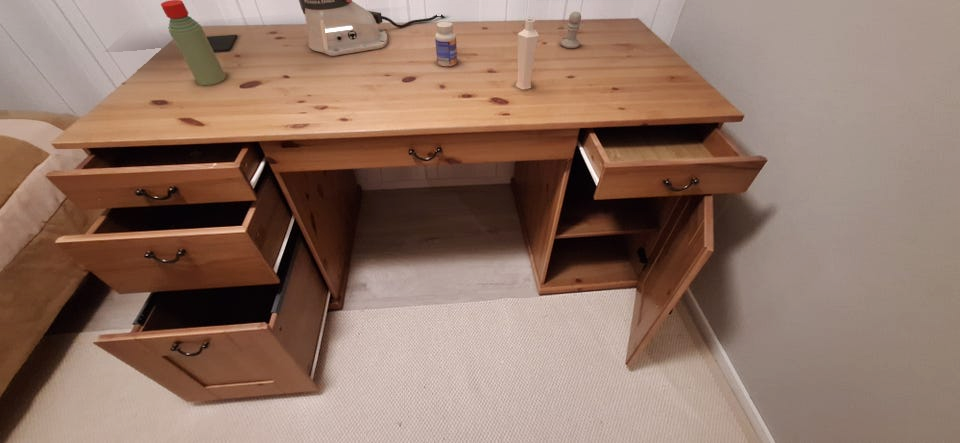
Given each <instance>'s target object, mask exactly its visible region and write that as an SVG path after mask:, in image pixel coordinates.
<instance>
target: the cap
mask: <svg viewBox="0 0 960 443" xmlns="http://www.w3.org/2000/svg"><path fill="white" fill-rule="evenodd" d="M160 6H161V8H162V10H163V12H164V14H165V16H166V17H167V18H168V19H170V18H181V17H184V16H187V15H188V16H189V11H188V9H187V7H186V5H185V3H184V2H183V0H165V1H163V2H161V3H160Z"/></svg>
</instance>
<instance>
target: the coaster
mask: <svg viewBox="0 0 960 443" xmlns="http://www.w3.org/2000/svg"><path fill="white" fill-rule="evenodd" d="M206 37H207V39H208V41H209V43H210V45H211V47H212V49H213V51H214V53H223V52H230V51H231V49H232V48H233V46H234V44H235V42H236V40H237V39H238V34H237V33H236V34H226V35H225V34H223V35H210V36H206Z"/></svg>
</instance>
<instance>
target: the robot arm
mask: <svg viewBox="0 0 960 443" xmlns="http://www.w3.org/2000/svg"><path fill="white" fill-rule="evenodd" d="M298 3H299V7H300V9H301V11H302V14H303V15H304V19H305V23H306V28H307V29H306V32H307V38H308V39H307V40H308V41H307V42H308V45H307V46H308V48H309V49H310V50H312V51H315V52H318V53H322V54H325V55H328V56H330V57H336V56H341V55H348V54H354V53H360V52H365V51H374V50H377V49H382V48H384V47H386V45H387V44H388V43H389V38H388V34H387V31H386V30H384V29H383V28H381V27H379V26H378V25H380V24H382V23H383V20H385V21H387V22H389V23H390V24H391V25H393V26H394V27H396V28H398V29H399V28H401V29H402V28H406V27H408V26H409V25H412V24H418V23H425V22H431V21H433V20H435V19H437V18H442V19H446V17H445V16H444V15H443V14H441V16H437V14H435V15H433V16H431V17H428V18H421V19H420V18H419V19H413V20H410V21H408V22H406V23H404V24H398V23H396V22H395V21H394V20H392V19H390V18H389V17H386V16H383V15H382V12H378V11H371V10H367V9H365V8H364V7H362V6H361V5H359V4H357V3H356V2H354V0H298Z"/></svg>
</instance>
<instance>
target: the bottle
mask: <svg viewBox="0 0 960 443" xmlns="http://www.w3.org/2000/svg"><path fill="white" fill-rule="evenodd" d="M168 22H169V23H168V27H167V28H168V33H169V34H170V36H171V38H172V40H173V41H174V43H175V45H176V47H177V49H178V50H179V53H180V54H181V56H182V58H183V59H184V61H185V62H186V65H187V67H188V68H189V70H190V72H191V73H192V75H193V77H194V79H195V81H196V83H197V84H198V85H200V86H213V85H216V84H219V83H222V82H223V81H225V79H227V76H226V74H225V72H224V69H223V67H222V65H221V64H220V62H219V59H218V57H217V55H216V52H214V51H213V49H212V47H211V45H210V43H209V41H208V39H207V37H208V36H207V35H206V33H205V31H204V29H203V27H202V25H201V24H200V23H199V22H198V21H196V20H195V19H194V18H192V17H191V16H189V14H188V15H187V16H184V17H181V18H169V21H168Z"/></svg>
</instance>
